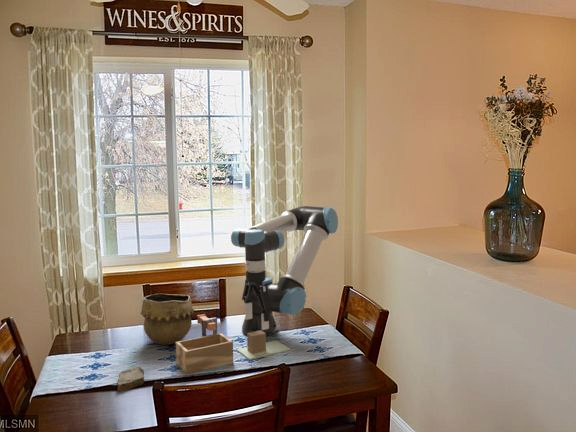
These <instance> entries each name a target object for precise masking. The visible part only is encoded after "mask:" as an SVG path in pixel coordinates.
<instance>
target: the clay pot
mask: <svg viewBox="0 0 576 432" xmlns="http://www.w3.org/2000/svg"><path fill="white" fill-rule="evenodd" d="M194 312H195V309H194V308H193V303H192V299H191V296H190V294H189V295H188V294H174V293H173V294H171V293H170V294H169V293H155V294H150V295H146V296H144V297H143V300H142V305H141V311H140V315H142V317H143V318H144V320H143V321H144V322H143V329H144V333H145V334H146V336H147V337H148V338H149V339H150V341H152V342H153V343H155V344H158V345H163V346H166V345H167V346H168V345H173V344H176V342H178V341H182V340H183V339H184V338H185V337H186V336H187V335H188V333H189V332H190V330H191V327H192V323H193V322H192V317H191V315H193V314H194Z"/></svg>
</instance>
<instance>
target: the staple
mask: <svg viewBox="0 0 576 432" xmlns="http://www.w3.org/2000/svg"><path fill="white" fill-rule="evenodd" d="M208 318H209V317H208ZM208 321H213V322H214V323H216V330H212V335H213V334H218V318H217V317H210V318H209V319H203V320H202V325H201V337H203V336H207V328H206V322H208Z"/></svg>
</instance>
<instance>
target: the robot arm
mask: <svg viewBox="0 0 576 432" xmlns="http://www.w3.org/2000/svg"><path fill="white" fill-rule="evenodd" d="M338 226H339V216H338V213H337V212H336V209H334V208H333V207H328V206H324V207H323V206H321V207H320V206H309V205H308V206H307V205H302V206H298V207H295V208H291V209H288V210H286V211H283V212H282V213H281V214H280V215H279V216H276V217H274V218H271V219H268V220H265V221H263V222H260V223H258V224H256V225H253V226H250V227H246V228H235V229H234V230H233V231H232V232H231V235H230V241H231V244H232V245H233V246H234V247H238V248H243V249H244V250H245V252H244V254H245V258H244V259H245V263H244V266H245V270H246V271H245V280H244V286H243V287H244V289H243V293H242V296H241V300H242V301H243V302H244V311H245V313H244V315H245V316H244V319H243V322H242V326H241V332H242V334H243V335H245V336H247V333H251V332H255V331H260V330H261V331H263V332H264V333H266V337H269V336H273V335H274V333H275V332H276V331H278V325H277V323H276V320H275V317H274V314H273V312H275V313H279V314H283V315H287V316H288V315H289V316H294V315H297V314H299V313H300V312H301V311H302V310H303V308H304V306H305V305H306V301H307V300H306V299H307V292H306V291H305V290H306V288H305V286H304V284H305V281H306V279H307V277H308V275H309V272H310V271H311V267H312V265H313V263H314V260H315V258H316V256H317V254H318V251H319V249H320V248H321V245H322V242H324V241H325V240H327V239H328V237H329V235H330V234H331V235H332V234H334V233H336V232H337V230H338ZM293 231H303V232H304V235H303V236H302V239H301V241H300V243H299V245H298V247H297V249H296V252H295V254H294V256H293V257H292V260H291V262H290V265H289V266H288V268H287V271H286V273H285V275H283V276H280V278H279V280H278V281H277V283H275V282H274V281H273V279H272V277H271V278H270V277H266V253H269V252H272V251H277V250H279V249H281V248H282V247H283V246H284V244H285V236H284V234H283V233H285V232H293ZM276 333H277V332H276ZM276 333H275V334H276ZM272 334H273V335H272Z"/></svg>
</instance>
